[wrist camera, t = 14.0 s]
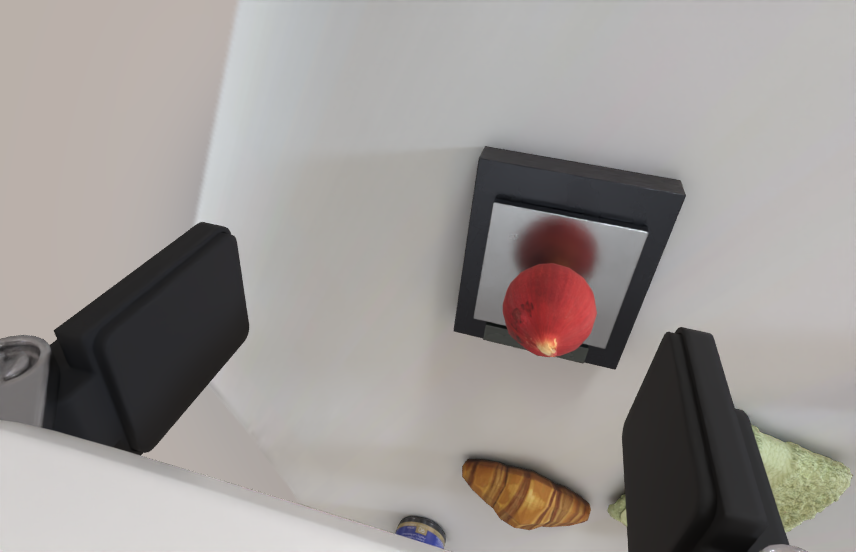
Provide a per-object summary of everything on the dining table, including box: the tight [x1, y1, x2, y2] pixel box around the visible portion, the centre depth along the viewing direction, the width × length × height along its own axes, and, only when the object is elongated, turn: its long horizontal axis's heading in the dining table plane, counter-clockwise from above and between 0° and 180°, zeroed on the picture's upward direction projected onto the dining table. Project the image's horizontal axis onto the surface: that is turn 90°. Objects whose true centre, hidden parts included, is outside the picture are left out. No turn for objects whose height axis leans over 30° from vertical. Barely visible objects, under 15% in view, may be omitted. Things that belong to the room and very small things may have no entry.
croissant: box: [462, 459, 591, 530], centre depth 52 cm, size 14×7×5 cm, turn 78°
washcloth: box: [608, 425, 853, 533], centre depth 46 cm, size 13×18×3 cm
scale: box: [454, 146, 686, 369], centre depth 38 cm, size 15×13×3 cm
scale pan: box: [474, 198, 649, 349], centre depth 37 cm, size 10×10×1 cm
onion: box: [503, 263, 597, 357], centre depth 33 cm, size 6×6×8 cm
